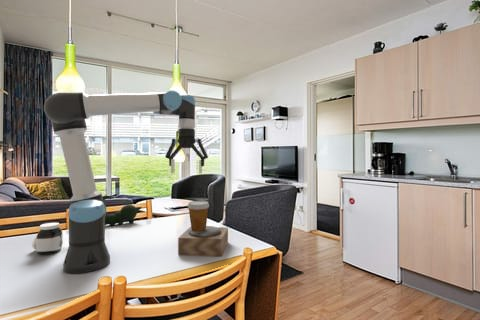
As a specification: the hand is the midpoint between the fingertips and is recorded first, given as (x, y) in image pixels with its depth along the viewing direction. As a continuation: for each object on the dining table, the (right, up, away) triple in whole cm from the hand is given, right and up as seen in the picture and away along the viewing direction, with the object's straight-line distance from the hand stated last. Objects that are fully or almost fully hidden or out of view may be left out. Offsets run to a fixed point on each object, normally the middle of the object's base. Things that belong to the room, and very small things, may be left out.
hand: (186, 173), depth 130 cm
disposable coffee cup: (+7, -25, -9) cm, 27 cm away
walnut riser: (+10, -33, -10) cm, 35 cm away
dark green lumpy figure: (-46, -32, +32) cm, 65 cm away
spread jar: (-57, -33, -14) cm, 67 cm away
